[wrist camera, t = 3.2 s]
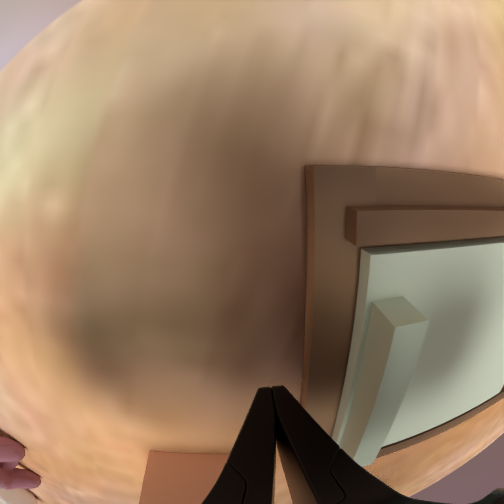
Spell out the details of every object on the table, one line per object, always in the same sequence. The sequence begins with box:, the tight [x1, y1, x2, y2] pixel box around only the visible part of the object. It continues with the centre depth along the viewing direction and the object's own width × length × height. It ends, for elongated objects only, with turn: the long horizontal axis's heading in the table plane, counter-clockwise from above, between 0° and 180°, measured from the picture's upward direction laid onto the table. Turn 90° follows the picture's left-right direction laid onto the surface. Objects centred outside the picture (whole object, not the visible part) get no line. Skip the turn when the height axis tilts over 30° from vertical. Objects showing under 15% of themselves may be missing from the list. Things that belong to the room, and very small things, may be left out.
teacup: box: [0, 488, 37, 504], centre depth 17 cm, size 10×8×5 cm
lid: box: [332, 237, 504, 467], centre depth 9 cm, size 11×13×2 cm
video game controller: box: [0, 437, 41, 490], centre depth 12 cm, size 10×5×7 cm, turn 158°
